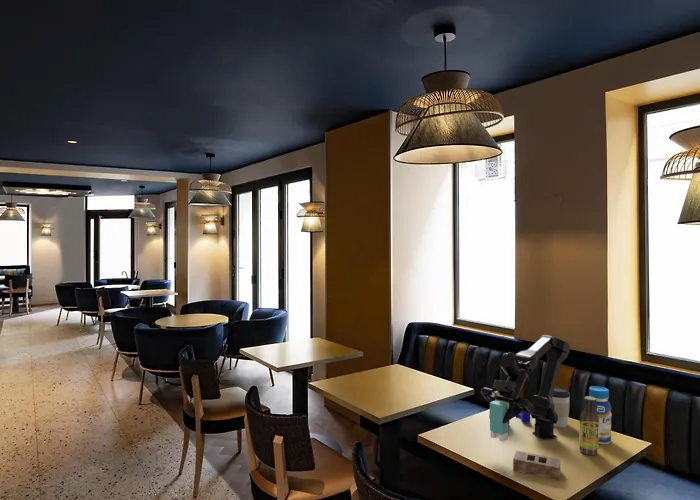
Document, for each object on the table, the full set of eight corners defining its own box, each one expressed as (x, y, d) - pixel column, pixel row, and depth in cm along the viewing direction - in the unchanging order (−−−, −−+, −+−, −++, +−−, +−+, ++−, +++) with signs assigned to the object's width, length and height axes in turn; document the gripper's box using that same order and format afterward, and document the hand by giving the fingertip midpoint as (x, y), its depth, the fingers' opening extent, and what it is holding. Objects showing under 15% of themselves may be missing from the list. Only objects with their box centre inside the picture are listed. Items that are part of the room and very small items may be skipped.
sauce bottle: (581, 455, 163) (581, 399, 163) (577, 447, 170) (577, 394, 169) (601, 457, 162) (601, 401, 162) (596, 449, 168) (596, 395, 168)
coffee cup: (560, 429, 186) (560, 393, 186) (541, 422, 194) (541, 387, 194) (575, 425, 190) (575, 389, 190) (556, 418, 198) (556, 384, 198)
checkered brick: (513, 470, 152) (513, 458, 152) (516, 462, 158) (516, 450, 158) (559, 480, 146) (559, 468, 146) (560, 471, 152) (560, 459, 152)
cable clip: (513, 412, 206) (513, 399, 206) (523, 413, 205) (523, 400, 205) (519, 423, 194) (519, 409, 194) (530, 423, 193) (530, 409, 193)
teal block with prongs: (495, 434, 164) (495, 400, 164) (508, 439, 160) (507, 404, 160) (490, 437, 162) (489, 402, 162) (502, 442, 158) (502, 406, 158)
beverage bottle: (591, 433, 182) (590, 383, 182) (614, 440, 176) (614, 388, 176) (583, 440, 176) (583, 388, 176) (607, 446, 170) (607, 393, 170)
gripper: (483, 365, 171) (464, 401, 164) (529, 376, 156) (511, 416, 150) (495, 382, 176) (478, 417, 169) (541, 394, 161) (524, 433, 154)
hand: (496, 420), depth 160 cm, fingers closed on teal block with prongs, 5 cm apart
